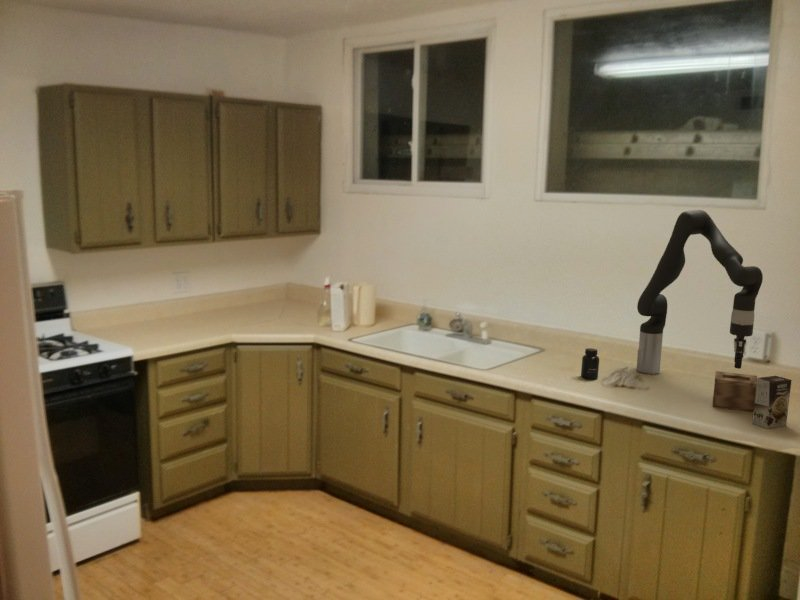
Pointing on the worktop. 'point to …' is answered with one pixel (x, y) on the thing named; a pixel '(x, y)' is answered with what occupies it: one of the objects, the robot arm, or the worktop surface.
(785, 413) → the coffee box
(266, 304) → the worktop surface
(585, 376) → the supplement bottle
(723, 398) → the box
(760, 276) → the robot arm
